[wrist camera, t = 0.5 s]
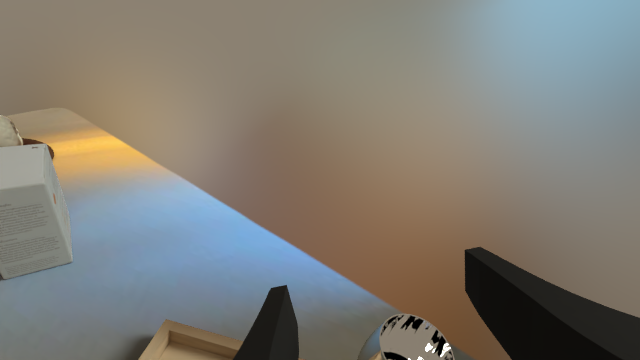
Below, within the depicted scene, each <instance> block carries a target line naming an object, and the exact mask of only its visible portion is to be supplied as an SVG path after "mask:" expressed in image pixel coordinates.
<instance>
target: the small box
mask: <svg viewBox="0 0 640 360" xmlns="http://www.w3.org/2000/svg"><path fill="white" fill-rule="evenodd" d="M71 262H73V258H72V243H71V229H70V216H69V213H68V209H67V206H66V203H65V199H64V196H63V193H62V190H61V187H60V184H59V181H58V177H57V174H56V171H55V169H54V166H53V162H52V159H51V156H50V153H49V150H48V146H47V144H32V145H21V146H9V147H0V274H1V276H2V278H3V279H5V280H6V279H10V278H14V277H17V276H21V275H25V274H29V273H32V272H36V271H40V270H44V269H48V268H52V267H56V266H60V265H64V264H68V263H71Z"/></svg>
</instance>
